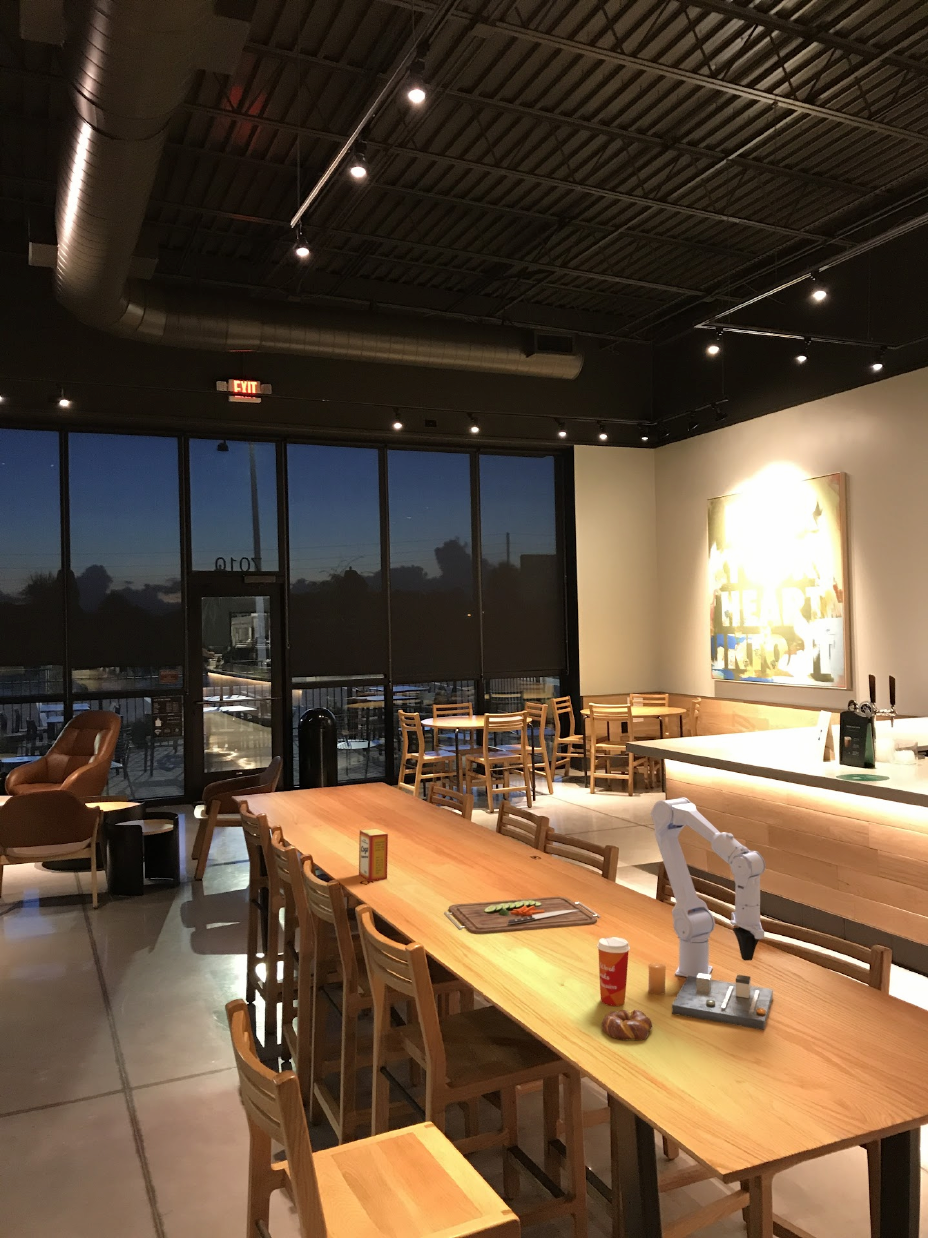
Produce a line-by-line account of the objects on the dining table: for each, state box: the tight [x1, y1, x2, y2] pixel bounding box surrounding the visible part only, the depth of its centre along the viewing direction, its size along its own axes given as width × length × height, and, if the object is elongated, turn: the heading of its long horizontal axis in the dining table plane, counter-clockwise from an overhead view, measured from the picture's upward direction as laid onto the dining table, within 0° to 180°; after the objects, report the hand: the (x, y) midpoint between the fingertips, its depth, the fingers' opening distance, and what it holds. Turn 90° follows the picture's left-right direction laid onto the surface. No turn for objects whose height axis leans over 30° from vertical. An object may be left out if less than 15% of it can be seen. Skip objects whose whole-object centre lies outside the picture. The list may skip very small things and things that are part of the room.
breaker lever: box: [735, 974, 752, 998], centre depth 218 cm, size 3×3×4 cm
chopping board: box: [443, 896, 602, 935], centre depth 284 cm, size 45×27×3 cm, turn 107°
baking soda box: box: [358, 828, 389, 882], centre depth 325 cm, size 10×6×16 cm
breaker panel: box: [671, 973, 774, 1031], centre depth 217 cm, size 20×20×5 cm
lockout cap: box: [647, 962, 666, 995], centre depth 225 cm, size 4×4×6 cm
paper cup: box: [596, 936, 631, 1007], centre depth 219 cm, size 8×8×14 cm
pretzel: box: [601, 1009, 653, 1041], centre depth 203 cm, size 12×11×4 cm
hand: (747, 959), depth 225 cm, fingers closed
